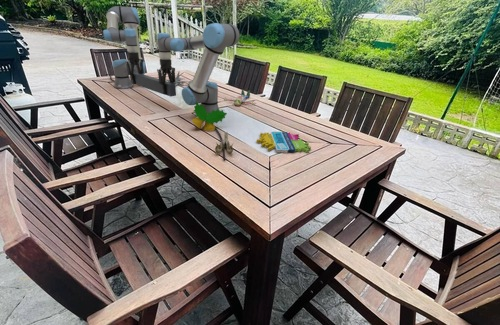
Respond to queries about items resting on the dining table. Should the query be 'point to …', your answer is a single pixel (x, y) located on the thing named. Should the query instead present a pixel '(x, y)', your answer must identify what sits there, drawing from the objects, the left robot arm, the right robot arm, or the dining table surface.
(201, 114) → the ornament
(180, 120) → the dining table surface
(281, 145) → the sign
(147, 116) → the dining table surface
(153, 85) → the bar
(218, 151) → the jawbone
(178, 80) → the airplane
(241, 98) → the toy
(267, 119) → the dining table surface
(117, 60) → the left robot arm
